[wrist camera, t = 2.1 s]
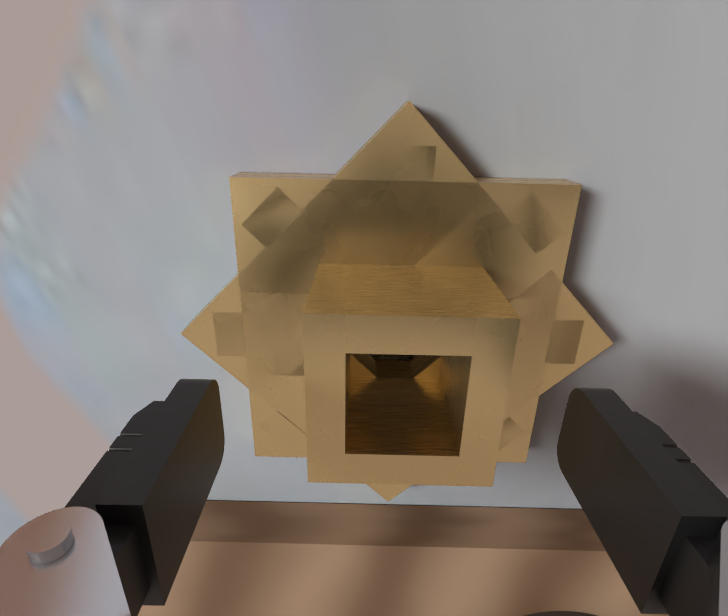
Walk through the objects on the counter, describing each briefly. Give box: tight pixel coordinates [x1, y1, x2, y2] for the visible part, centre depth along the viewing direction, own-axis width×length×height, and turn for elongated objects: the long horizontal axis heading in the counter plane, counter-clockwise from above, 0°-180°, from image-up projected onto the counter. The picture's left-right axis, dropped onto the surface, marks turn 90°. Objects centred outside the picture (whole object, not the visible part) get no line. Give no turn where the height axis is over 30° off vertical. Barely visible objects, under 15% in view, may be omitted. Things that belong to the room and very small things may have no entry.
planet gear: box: [181, 101, 614, 501], centre depth 14 cm, size 14×14×5 cm
